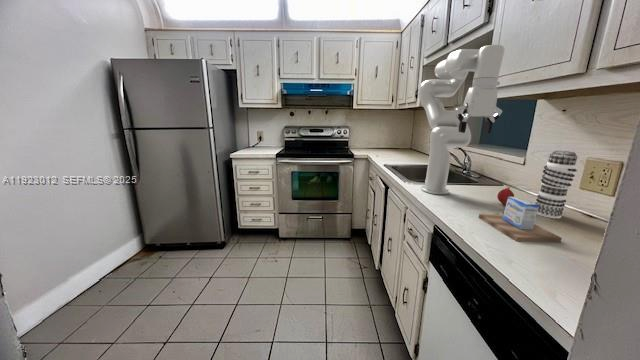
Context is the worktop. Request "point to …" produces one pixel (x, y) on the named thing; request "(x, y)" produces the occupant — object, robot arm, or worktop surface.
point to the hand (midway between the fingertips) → (474, 132)
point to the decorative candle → (556, 183)
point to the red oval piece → (505, 195)
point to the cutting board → (519, 230)
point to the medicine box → (520, 213)
